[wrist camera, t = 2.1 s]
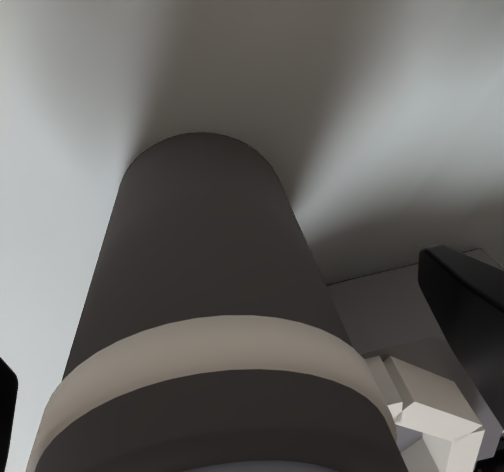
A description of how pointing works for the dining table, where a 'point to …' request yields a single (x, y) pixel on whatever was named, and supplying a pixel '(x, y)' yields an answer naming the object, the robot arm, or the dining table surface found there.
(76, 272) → the dining table surface
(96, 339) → the lens
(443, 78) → the dining table surface
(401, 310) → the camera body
